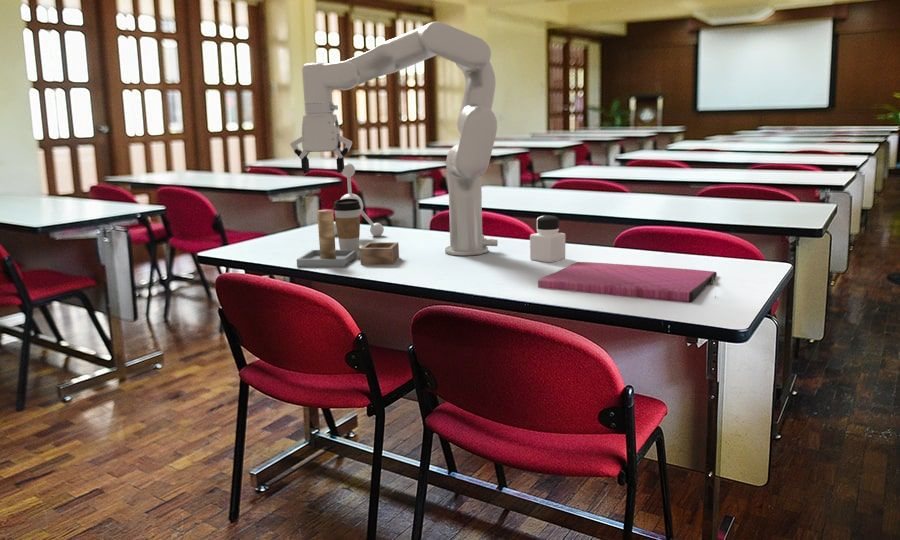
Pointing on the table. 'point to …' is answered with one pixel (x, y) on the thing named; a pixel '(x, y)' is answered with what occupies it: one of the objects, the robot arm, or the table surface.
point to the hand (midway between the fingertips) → (323, 172)
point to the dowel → (326, 234)
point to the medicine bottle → (547, 240)
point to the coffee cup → (348, 223)
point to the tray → (314, 259)
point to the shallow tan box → (379, 253)
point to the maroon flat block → (630, 281)
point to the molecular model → (375, 228)
